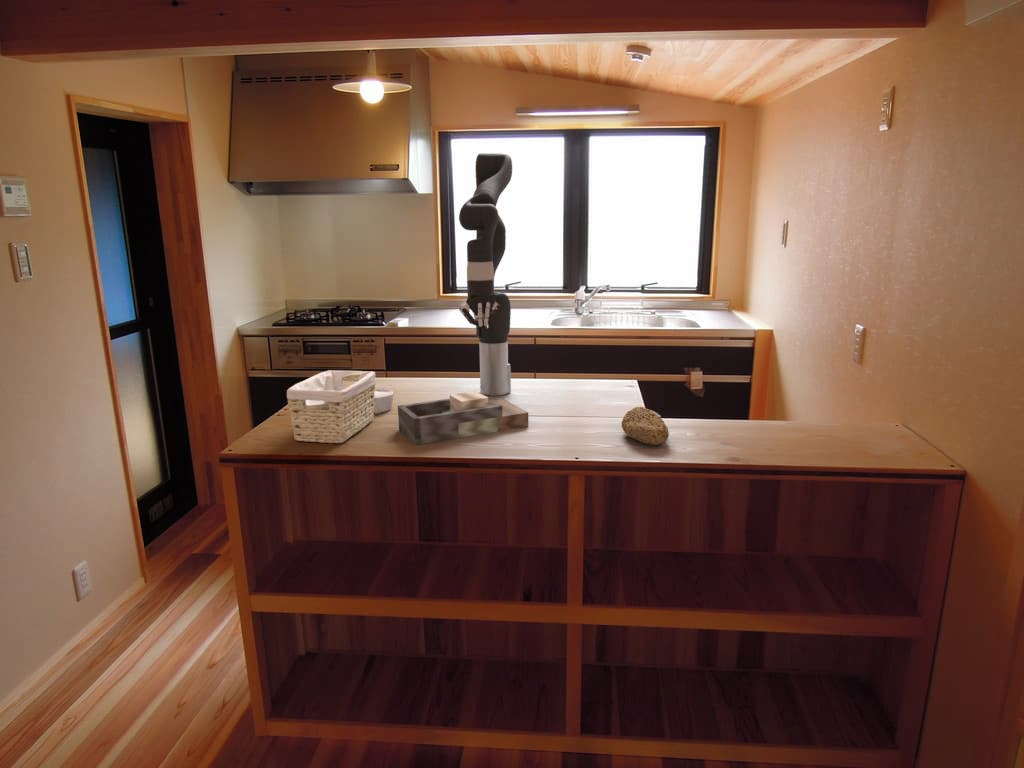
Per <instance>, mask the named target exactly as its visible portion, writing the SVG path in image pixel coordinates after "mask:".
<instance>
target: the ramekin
mask: <svg viewBox="0 0 1024 768" xmlns="http://www.w3.org/2000/svg"><path fill="white" fill-rule="evenodd" d="M374 394H375V395H374V411H373V412H374V413H375V414H382V413H381V412H383V413H386V412H385V411H387V412H389V411H390V410H391V409H392V406H393V401H394V395H395V393H394V391H393V390H391V389H387V388H375V392H374ZM388 410H389V411H388Z"/></svg>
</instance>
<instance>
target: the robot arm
mask: <svg viewBox="0 0 1024 768" xmlns="http://www.w3.org/2000/svg"><path fill="white" fill-rule="evenodd" d="M512 175H513V161H512V158H511V155H510V154H508V153H503V152H500V153H499V152H481V153H478V154H477V156H476V159H475V184H476V185H475V187H476V188H475V190H474V193H473V195H472V197H470V198H469V199H468V200H467V201H466V202H465V203H464V204H463V205H462V207H460V208H461V209H460V211H459V213H458V214H459V215H458V220H459V224H460V226H461V227H462V228H463V229H464V230H466V231H476V234H475V235H476V238H475V239H471V240H468V242H467V244H466V257H467V258H466V260H467V262H466V264H467V265H466V290H467V291H466V292H467V299H466V301H465V302H466V304H464V305H463V306H461V307H459V312H460V313H461V314H462V316H463V317H464V318H465V319H466V320H467V322H468V323H469V324H470V325H473V326H475V332H476V333H475V336H476V337H477V338H478V342H479V345H478V346H479V381H480V382H479V383H480V384H479V385H480V386H479V388H480V392H479V393H480V394H482V395H484V396H492V397H495V396H504V395H507V394H509V393H511V392H512V389H511V388H512V386H511V382H512V380H511V378H512V376H511V374H512V373H511V372H512V371H511V369H512V368H511V364H510V363H509V349H508V348H509V345H508V344H509V342H508V341H509V340H508V339H509V334H510V330H511V311H512V308H511V300H510V299H509V296H508V295H507V294H506V293H504V292H499V291H495V276H496V272H497V269H498V267H499V265H500V264H501V261H502V259H503V257H504V255H505V251H506V246H507V244H506V243H507V242H506V241H507V240H506V239H507V238H506V237H507V236H506V234H507V233H506V232H507V231H506V226H505V223H504V221H503V220H502V219H503V218H501V216H500V215H499V211H498V208H497V203H498V201H499V197H500V196H501V194H502V193H503V192H504V191H505V189H506V188H507V187H508V185H509V183H510V182H511V181H512ZM470 312H472V313H473V316H472V314H471V313H470Z"/></svg>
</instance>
